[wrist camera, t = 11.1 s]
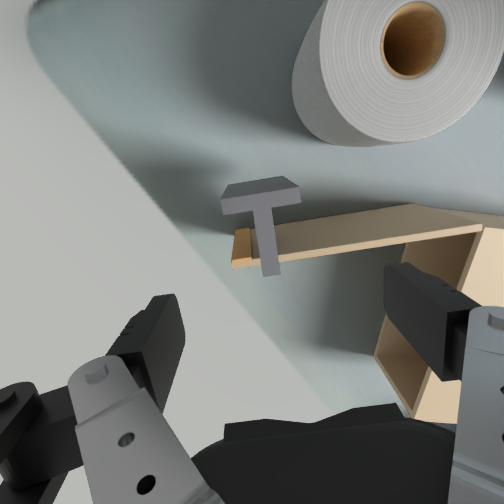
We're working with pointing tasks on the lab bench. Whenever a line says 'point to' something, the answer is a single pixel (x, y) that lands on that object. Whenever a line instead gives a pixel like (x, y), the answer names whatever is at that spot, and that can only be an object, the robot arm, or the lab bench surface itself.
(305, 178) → the lab bench surface
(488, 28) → the toilet paper roll
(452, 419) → the carton
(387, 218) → the carton flap
